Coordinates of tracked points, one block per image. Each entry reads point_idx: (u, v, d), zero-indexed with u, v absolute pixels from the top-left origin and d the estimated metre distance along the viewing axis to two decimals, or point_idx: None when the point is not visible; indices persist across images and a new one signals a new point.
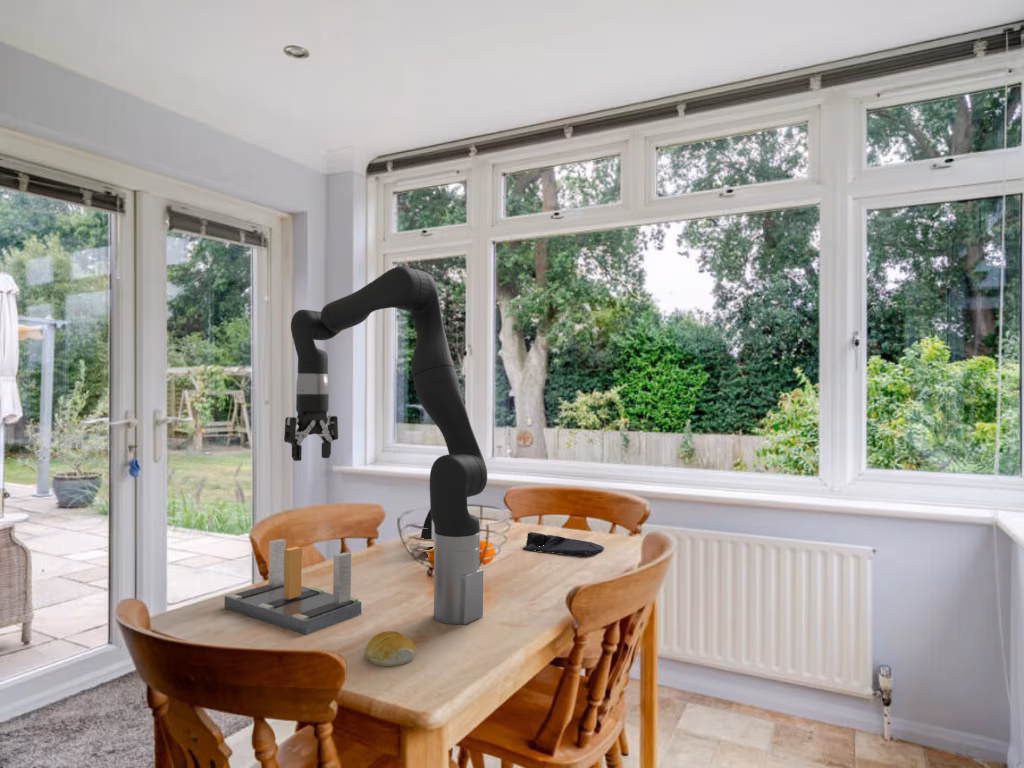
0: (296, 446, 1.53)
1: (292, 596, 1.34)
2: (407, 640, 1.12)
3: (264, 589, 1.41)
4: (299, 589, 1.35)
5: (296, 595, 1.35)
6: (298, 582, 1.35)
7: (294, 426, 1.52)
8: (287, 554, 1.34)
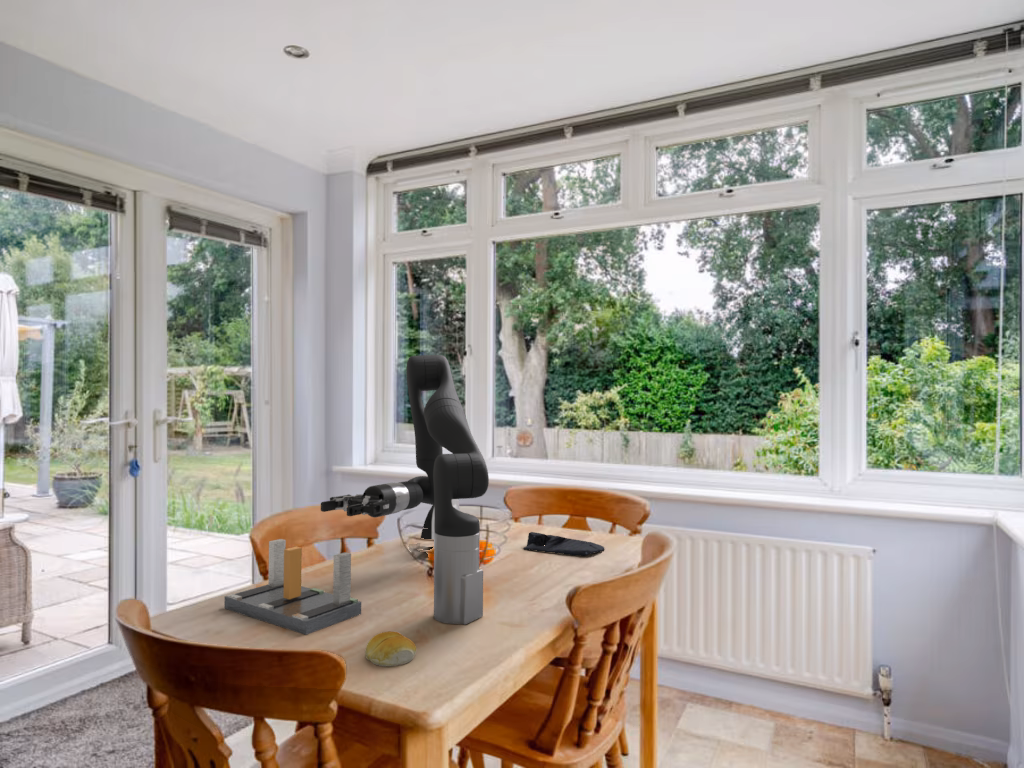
0: None
1: (292, 596, 1.34)
2: (407, 640, 1.11)
3: (264, 589, 1.41)
4: (299, 589, 1.35)
5: (296, 595, 1.35)
6: (298, 582, 1.35)
7: (344, 496, 1.55)
8: (287, 554, 1.34)
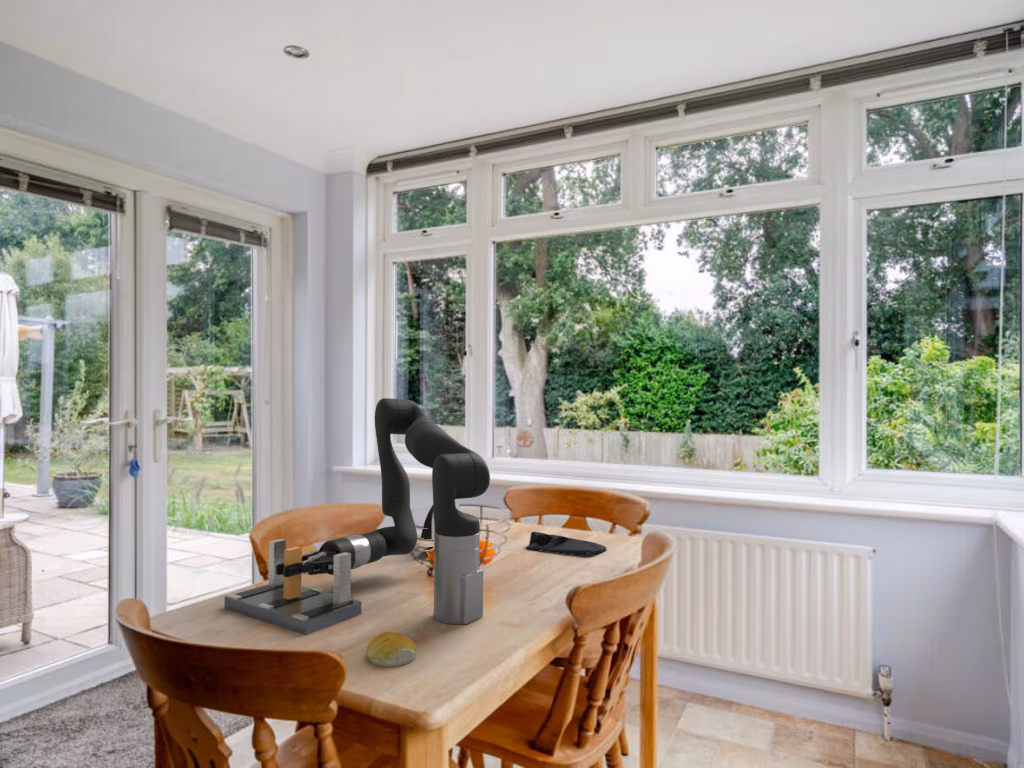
0: None
1: (292, 596, 1.34)
2: (407, 640, 1.11)
3: (264, 589, 1.41)
4: (299, 589, 1.35)
5: (296, 595, 1.35)
6: (298, 582, 1.35)
7: None
8: (287, 554, 1.34)
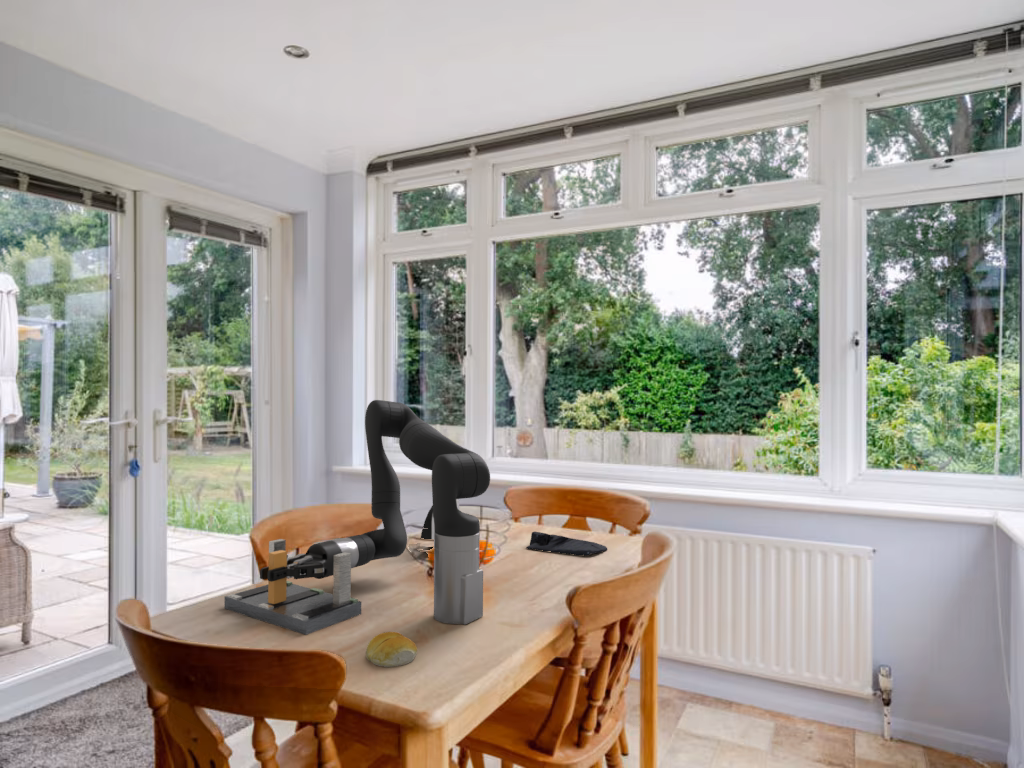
0: None
1: (277, 601, 1.31)
2: (407, 641, 1.11)
3: (264, 589, 1.41)
4: (284, 593, 1.32)
5: (281, 600, 1.32)
6: (283, 586, 1.32)
7: None
8: (272, 558, 1.31)
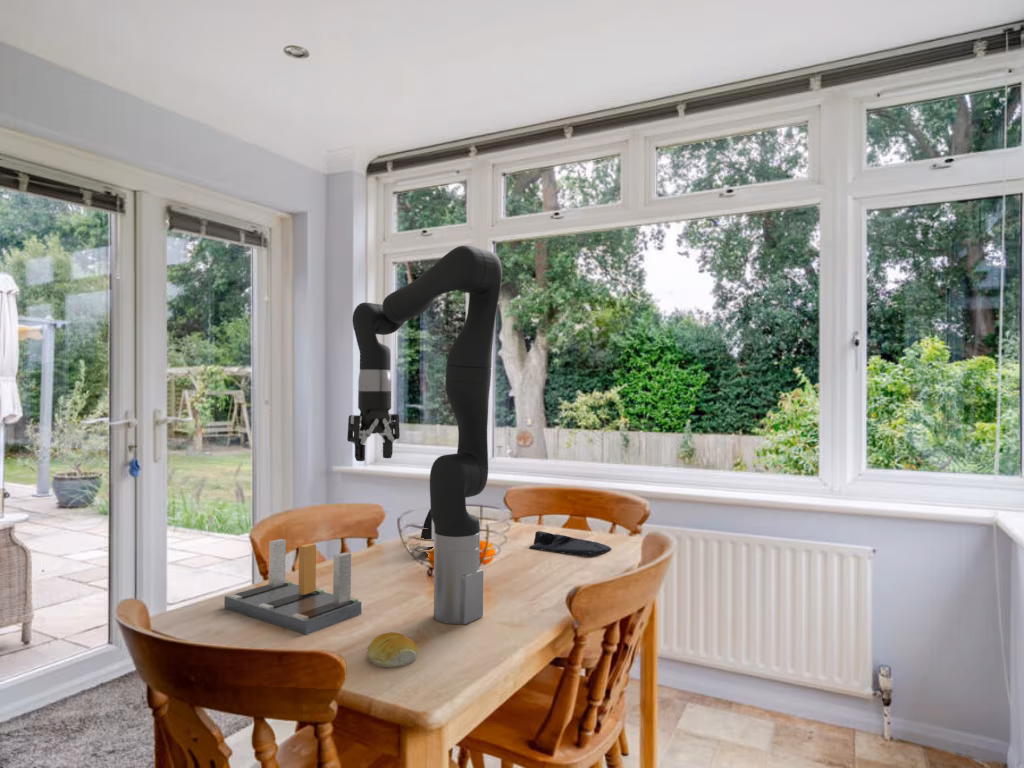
0: (360, 446, 1.46)
1: (307, 591, 1.37)
2: (409, 641, 1.11)
3: (264, 589, 1.41)
4: (313, 585, 1.38)
5: (311, 590, 1.38)
6: (313, 578, 1.38)
7: (358, 425, 1.45)
8: (302, 551, 1.37)
